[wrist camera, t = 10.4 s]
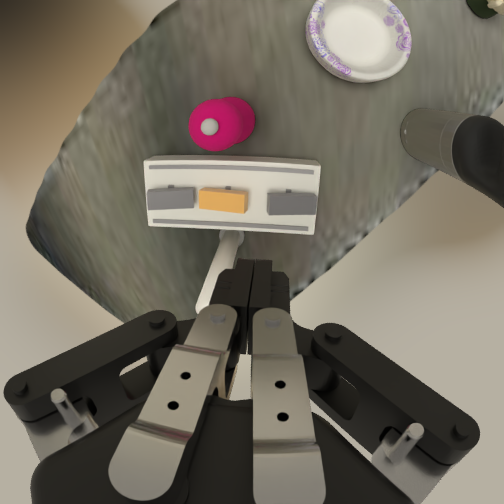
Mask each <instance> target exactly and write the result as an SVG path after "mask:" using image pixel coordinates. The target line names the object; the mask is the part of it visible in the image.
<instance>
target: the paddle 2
mask: <svg viewBox="0 0 504 504" xmlns="http://www.w3.org/2000/svg"><path fill="white" fill-rule="evenodd" d="M317 197H318V196H316V195H315V194H314V193H267V210H266V211H267V213H268V215H316V207H317Z"/></svg>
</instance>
